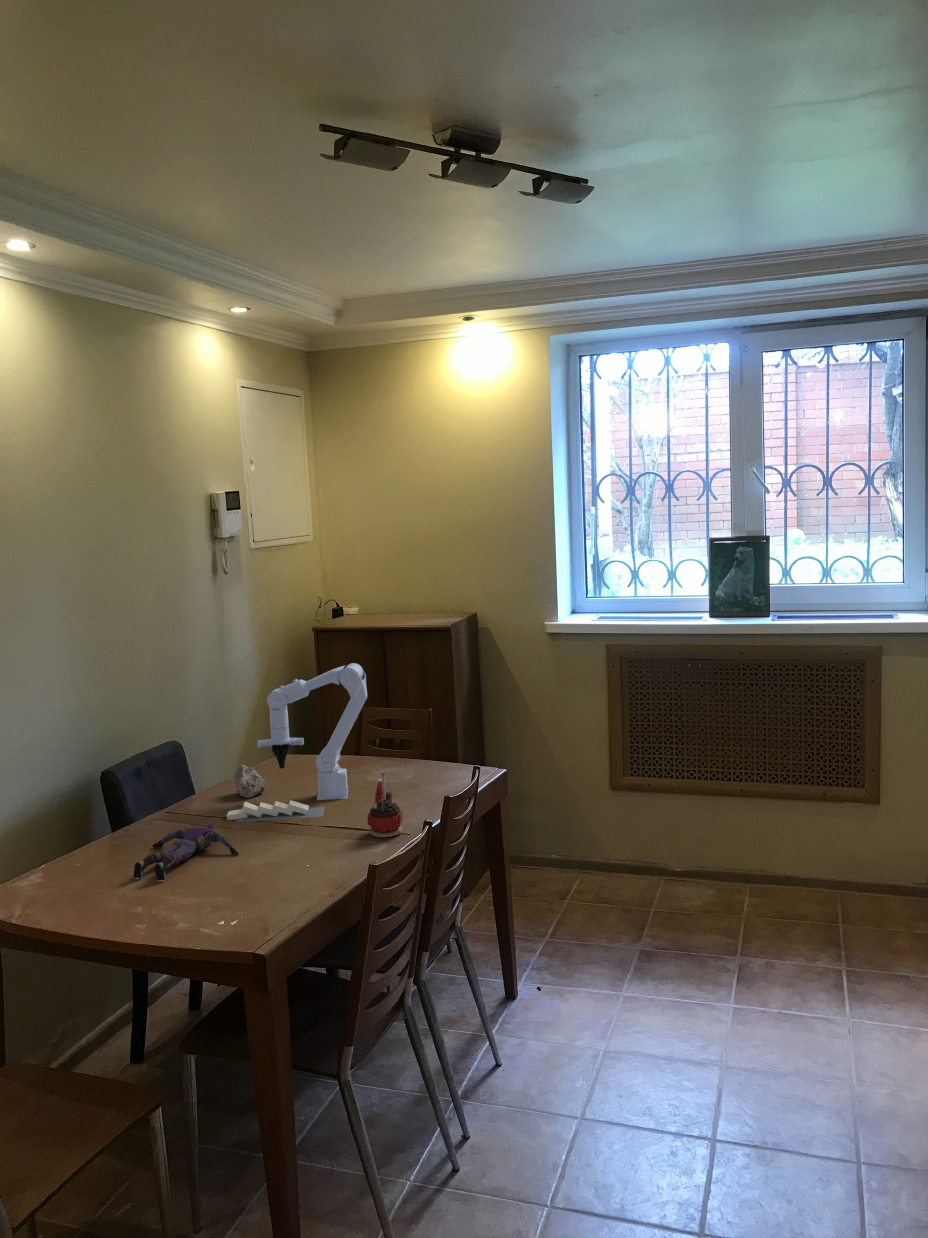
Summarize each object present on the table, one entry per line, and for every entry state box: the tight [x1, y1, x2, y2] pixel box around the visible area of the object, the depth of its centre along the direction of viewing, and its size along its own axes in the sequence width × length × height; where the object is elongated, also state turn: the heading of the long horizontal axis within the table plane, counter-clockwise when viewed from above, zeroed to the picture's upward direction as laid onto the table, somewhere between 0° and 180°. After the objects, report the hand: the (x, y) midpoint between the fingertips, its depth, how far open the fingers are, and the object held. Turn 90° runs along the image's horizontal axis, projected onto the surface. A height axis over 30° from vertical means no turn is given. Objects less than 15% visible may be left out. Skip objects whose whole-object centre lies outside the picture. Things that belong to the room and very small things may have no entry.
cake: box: [367, 771, 404, 838], centre depth 273 cm, size 11×9×18 cm
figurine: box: [133, 822, 239, 881], centre depth 260 cm, size 27×6×30 cm
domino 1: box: [226, 808, 249, 821], centre depth 293 cm, size 2×4×6 cm
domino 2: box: [241, 801, 262, 817], centre depth 293 cm, size 2×4×6 cm
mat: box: [235, 806, 326, 823], centre depth 294 cm, size 26×9×1 cm, turn 94°
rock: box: [234, 764, 266, 799], centre depth 314 cm, size 9×12×10 cm
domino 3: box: [258, 801, 278, 817], centre depth 293 cm, size 2×4×6 cm
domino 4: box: [273, 800, 293, 816], centre depth 293 cm, size 2×4×6 cm
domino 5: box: [287, 799, 310, 815], centre depth 294 cm, size 2×4×6 cm
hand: (282, 767), depth 310 cm, fingers closed
